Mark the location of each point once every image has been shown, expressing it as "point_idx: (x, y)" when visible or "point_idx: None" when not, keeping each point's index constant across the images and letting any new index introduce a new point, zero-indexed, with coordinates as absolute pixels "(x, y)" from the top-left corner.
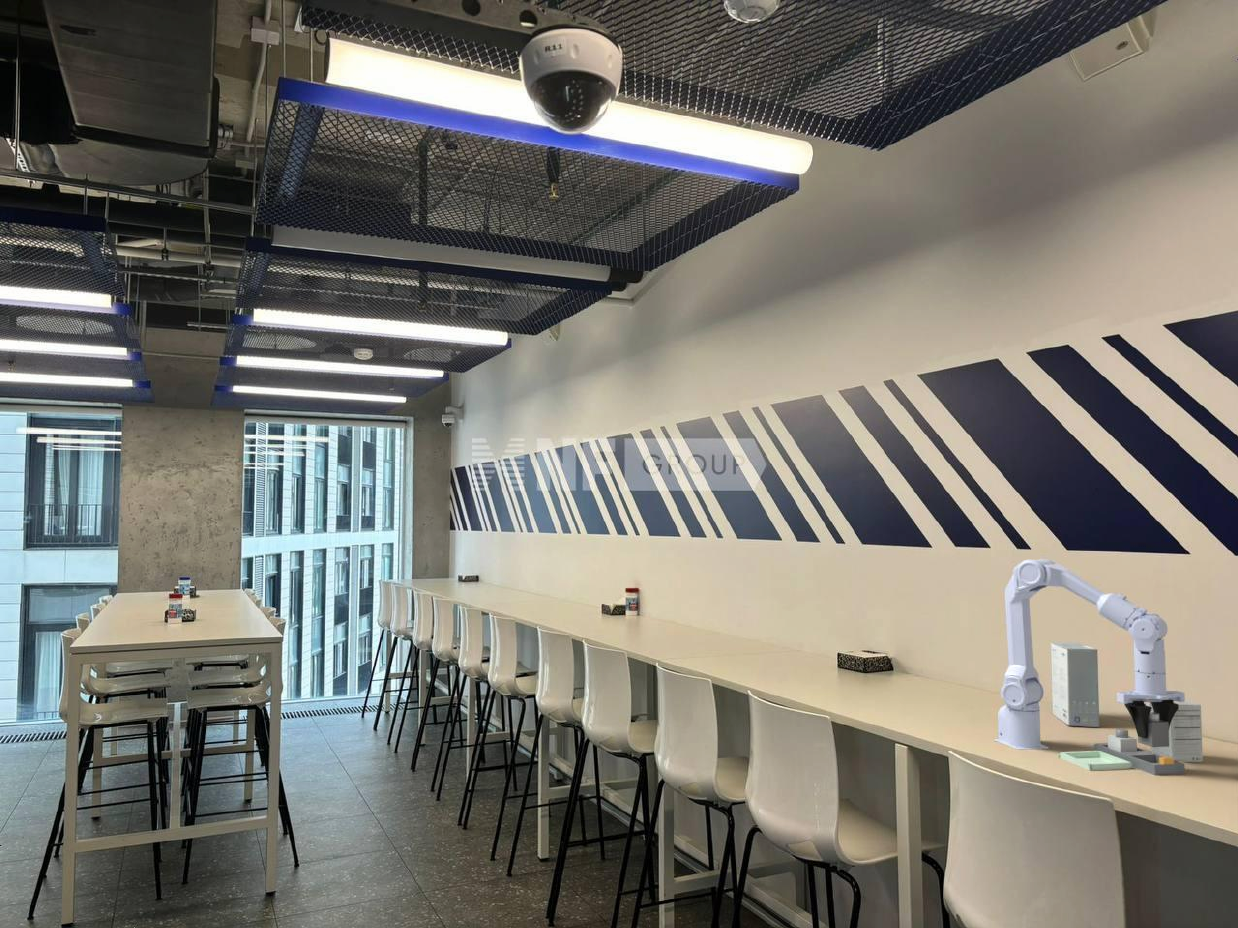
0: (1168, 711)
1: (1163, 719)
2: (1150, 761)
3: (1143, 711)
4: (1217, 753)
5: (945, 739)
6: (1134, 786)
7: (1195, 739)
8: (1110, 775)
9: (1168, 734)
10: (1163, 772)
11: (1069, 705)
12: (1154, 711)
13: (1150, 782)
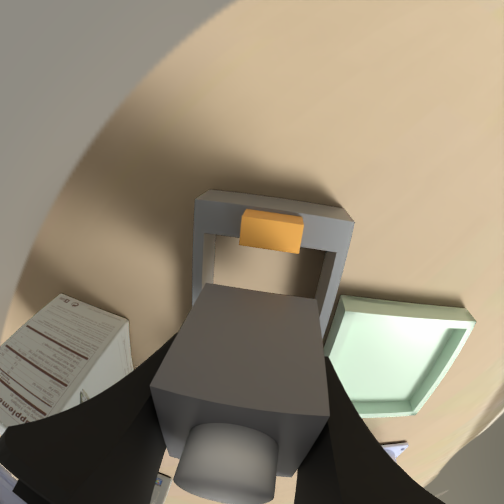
0: (105, 462)
1: (149, 425)
2: None
3: (424, 498)
4: (20, 319)
5: (421, 472)
6: (487, 158)
7: (37, 330)
8: (449, 273)
9: (186, 323)
10: (306, 206)
11: (162, 502)
12: (151, 486)
13: (414, 166)
